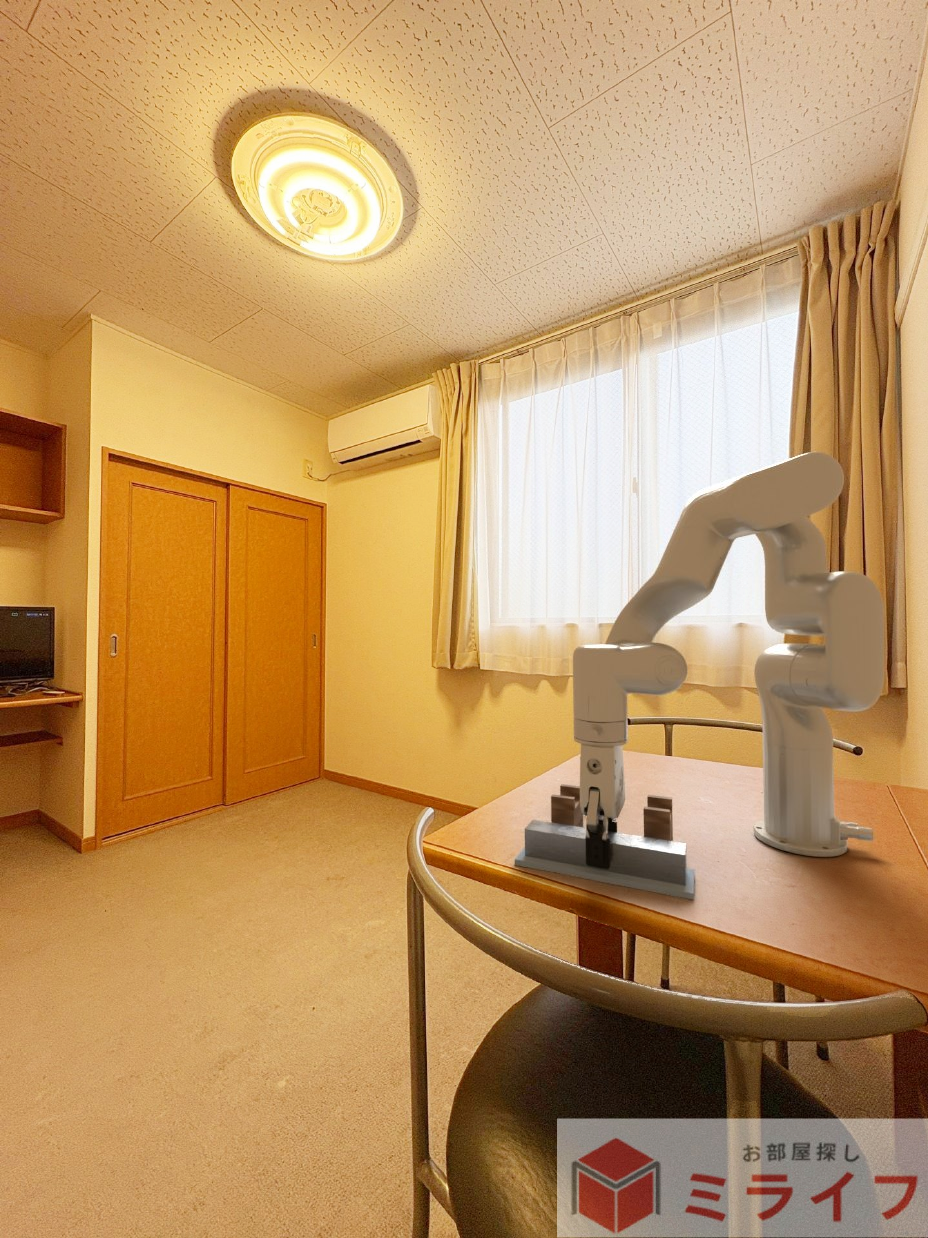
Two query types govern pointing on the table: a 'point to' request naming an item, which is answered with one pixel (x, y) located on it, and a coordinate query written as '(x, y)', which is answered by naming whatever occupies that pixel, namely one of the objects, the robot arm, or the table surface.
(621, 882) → the grey board
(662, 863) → the rail
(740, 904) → the table surface
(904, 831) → the table surface
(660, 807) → the post near
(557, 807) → the post far
